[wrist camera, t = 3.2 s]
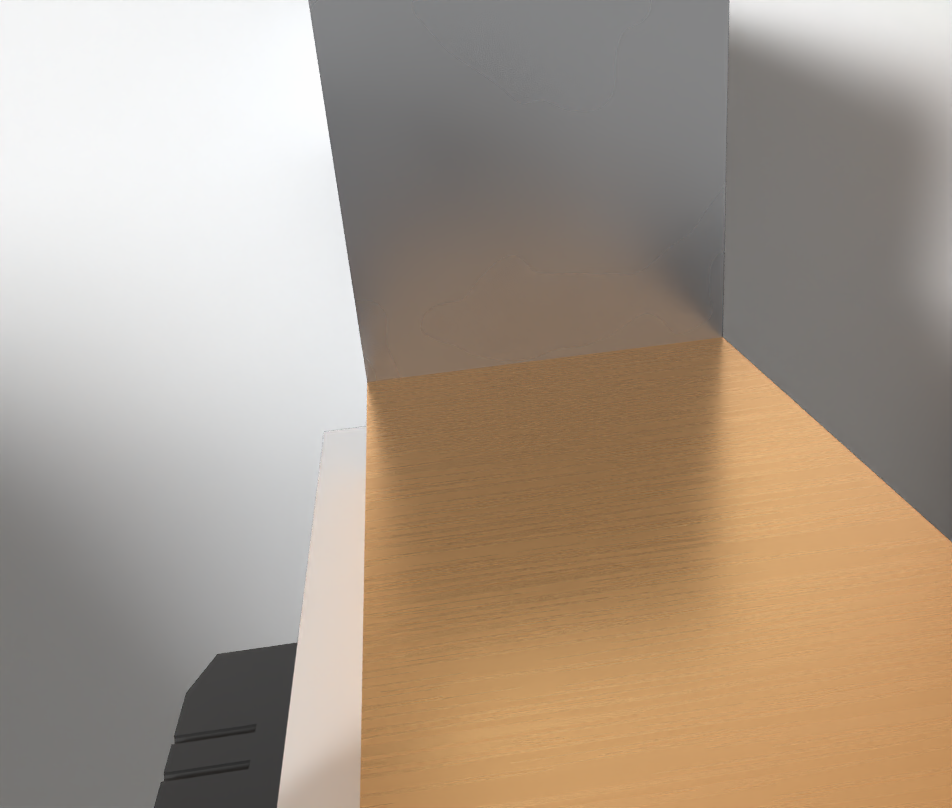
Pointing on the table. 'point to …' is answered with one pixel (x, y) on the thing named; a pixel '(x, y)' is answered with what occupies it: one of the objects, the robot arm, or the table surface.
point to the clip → (600, 443)
